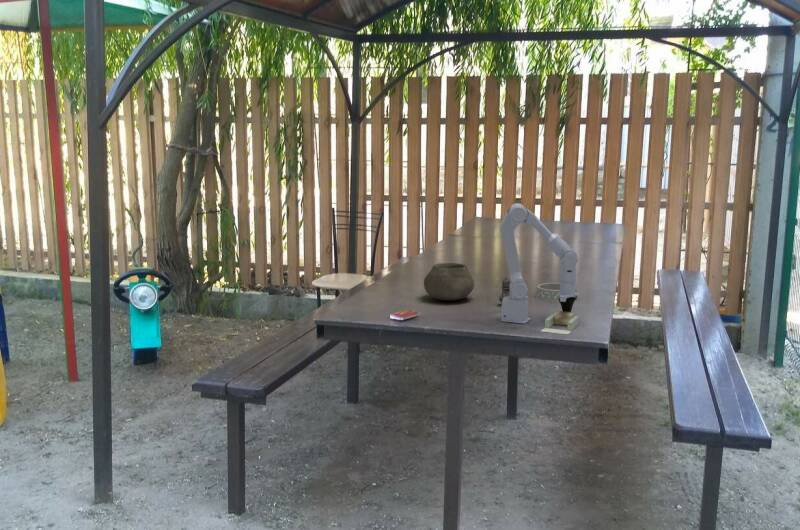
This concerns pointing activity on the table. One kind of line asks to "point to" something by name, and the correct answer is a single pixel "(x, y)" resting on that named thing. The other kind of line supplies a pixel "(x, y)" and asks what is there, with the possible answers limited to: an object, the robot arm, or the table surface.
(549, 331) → the mat
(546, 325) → the rails
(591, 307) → the table surface
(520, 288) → the robot arm
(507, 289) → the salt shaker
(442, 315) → the table surface
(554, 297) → the dog bowl
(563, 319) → the birch block
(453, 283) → the clay pot
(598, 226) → the table surface
